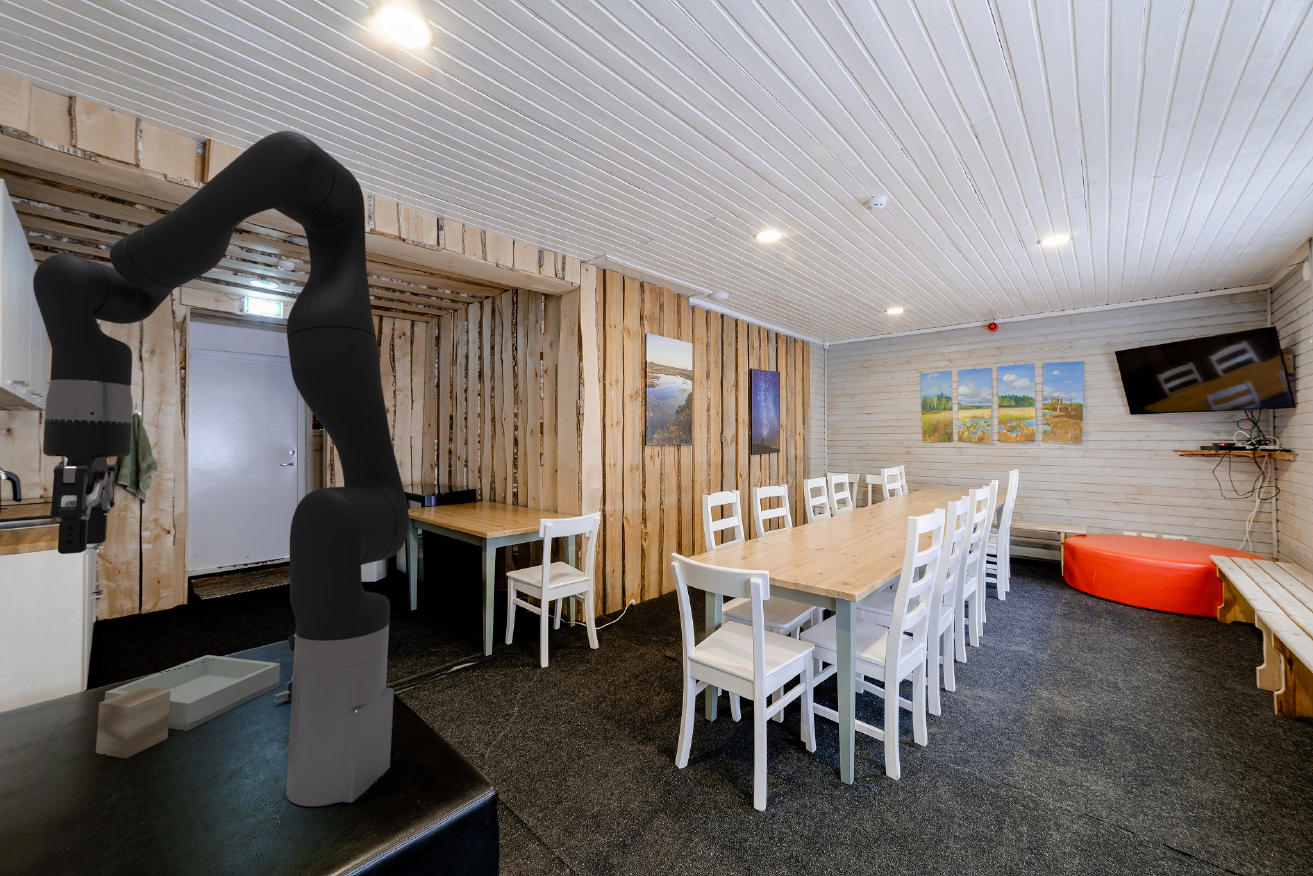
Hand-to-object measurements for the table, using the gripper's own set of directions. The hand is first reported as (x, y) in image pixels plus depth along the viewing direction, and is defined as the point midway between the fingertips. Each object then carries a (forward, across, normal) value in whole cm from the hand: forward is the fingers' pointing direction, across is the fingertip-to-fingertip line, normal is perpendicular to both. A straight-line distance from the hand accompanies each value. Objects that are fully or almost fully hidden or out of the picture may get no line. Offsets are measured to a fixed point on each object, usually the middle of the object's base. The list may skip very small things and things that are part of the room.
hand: (83, 548), depth 66 cm
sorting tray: (+24, +6, -11) cm, 27 cm away
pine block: (+24, -4, -6) cm, 25 cm away
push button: (+25, 0, -23) cm, 34 cm away
